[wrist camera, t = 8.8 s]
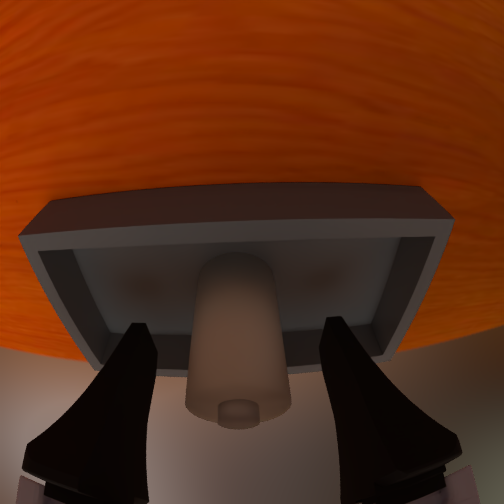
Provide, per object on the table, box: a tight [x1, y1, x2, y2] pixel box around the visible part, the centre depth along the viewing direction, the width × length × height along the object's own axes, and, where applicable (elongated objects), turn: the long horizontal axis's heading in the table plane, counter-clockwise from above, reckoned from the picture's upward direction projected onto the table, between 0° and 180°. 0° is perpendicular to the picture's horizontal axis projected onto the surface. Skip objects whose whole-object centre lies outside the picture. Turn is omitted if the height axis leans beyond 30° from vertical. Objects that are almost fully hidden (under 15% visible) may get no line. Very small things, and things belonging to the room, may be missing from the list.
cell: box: [185, 252, 291, 429], centre depth 11 cm, size 4×4×7 cm
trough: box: [18, 183, 455, 377], centre depth 14 cm, size 18×10×3 cm, turn 91°
